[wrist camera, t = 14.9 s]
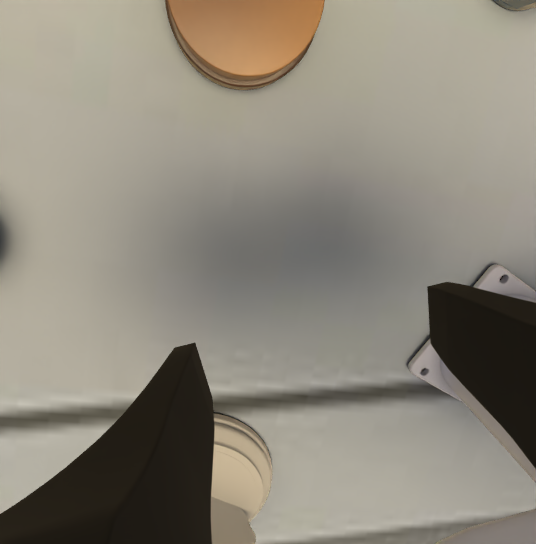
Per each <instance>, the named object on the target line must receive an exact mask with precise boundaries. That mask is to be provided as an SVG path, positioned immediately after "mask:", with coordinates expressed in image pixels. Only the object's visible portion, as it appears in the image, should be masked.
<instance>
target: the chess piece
mask: <svg viewBox="0 0 536 544" xmlns="http://www.w3.org/2000/svg"><path fill="white" fill-rule="evenodd" d="M214 426H215V432H214V453H213V471H212V490H211V534H212V544H255V542H256V536H255V533H254V531H253V530H252V528H251V527H250V524H249V522H250V521H251V520H252V519H253V518H254V517H255V516H256V514H257V513H258V512H259V511H260V510H261V508H262V506H263V505H264V503H265V501H266V499H267V497H268V494H269V491H270V487H271V480H272V464H271V459H270V455H269V452H268V449H267V447H266V445H265V444H264V442H263V441H262V439H261V438H260V437H259V436H258V435H257V434H256V433H255V432H254V431H253V430H252V429H251V428H249V427H248V426H247V425H245V424H243V423H242V422H240V421H238V420H236V419H233V418H230V417H228V416H224V415H220V414H215V413H214Z"/></svg>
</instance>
